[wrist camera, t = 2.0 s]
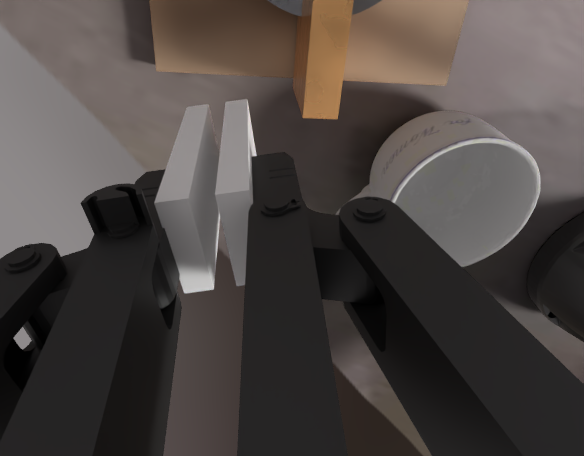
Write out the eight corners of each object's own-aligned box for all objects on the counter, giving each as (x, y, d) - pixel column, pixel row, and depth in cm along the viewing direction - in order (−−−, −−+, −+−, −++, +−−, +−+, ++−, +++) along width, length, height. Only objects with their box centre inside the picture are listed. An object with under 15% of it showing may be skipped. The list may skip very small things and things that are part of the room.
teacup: (498, 89, 32) (563, 128, 26) (476, 210, 39) (524, 265, 32) (317, 111, 32) (336, 156, 26) (324, 229, 38) (341, 289, 32)
